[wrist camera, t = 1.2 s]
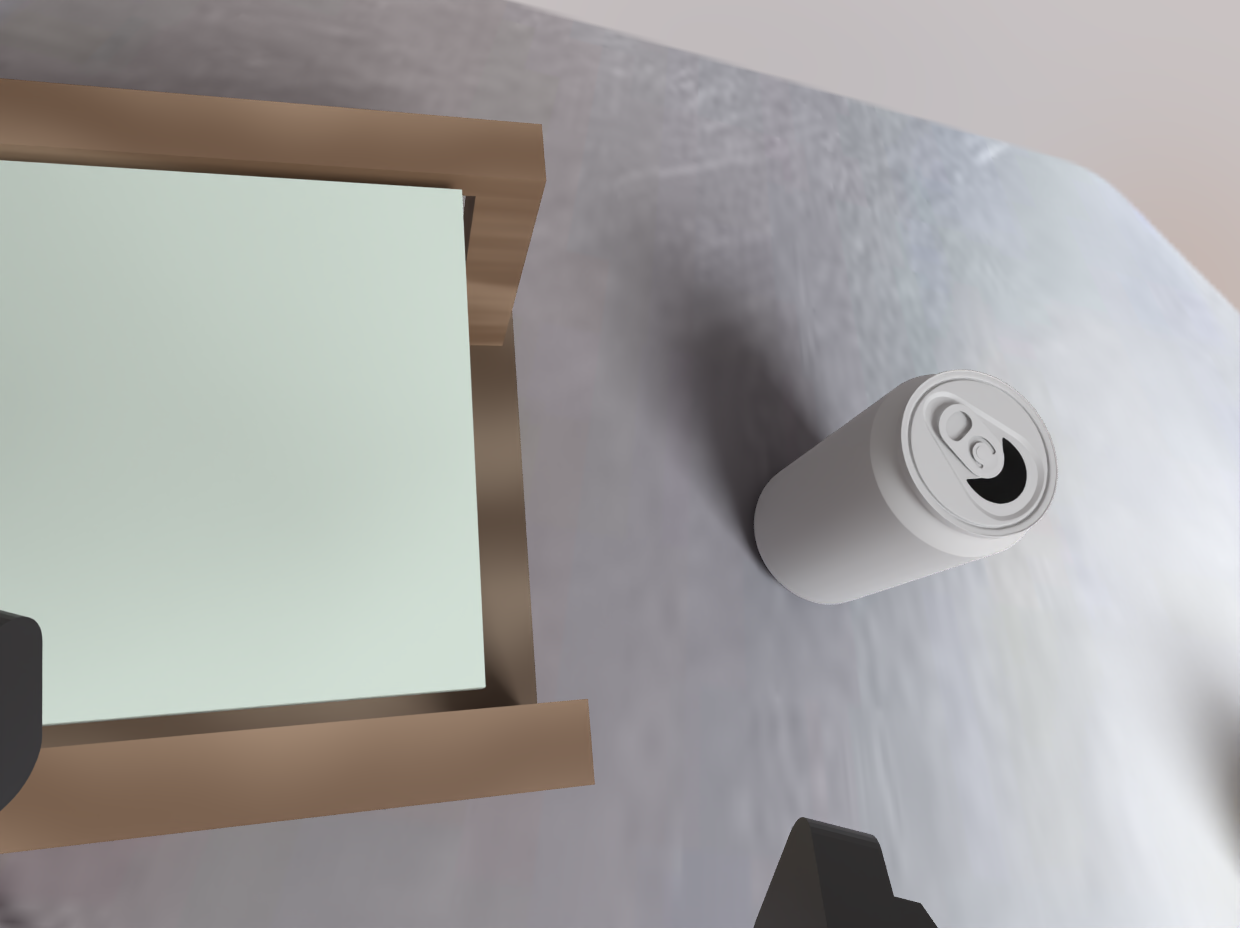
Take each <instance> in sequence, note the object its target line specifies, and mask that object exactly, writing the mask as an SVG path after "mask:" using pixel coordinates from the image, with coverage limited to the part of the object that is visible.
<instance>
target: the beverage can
mask: <svg viewBox="0 0 1240 928" xmlns="http://www.w3.org/2000/svg"><path fill="white" fill-rule="evenodd" d="M1057 480H1058V465H1057V458H1056V452H1055V448H1054V445H1053V442H1052V439H1051V436H1050V434H1049V432H1048V430H1047V428H1046V426H1045V424H1044V422H1043V420H1042V419H1041V417H1040V416H1039V414H1038V413H1037V411H1036V410H1035V409H1034V407H1033V406H1032V405H1031V404H1030V403H1029V402H1028V401H1027V400H1026V399H1025V398H1024V397H1023V396H1022V395H1021V394H1020V393H1019V392H1018V391H1016V390H1015V389H1014V388H1012V387H1011V386H1010V385H1008V384H1007V383H1005V382H1003V381H1001V380H1000V379H998V378H996V377H993V376H991V375H988V374H985V373H982V372H978V371H973V370H950V371H945V372H942V373H939V374H931V375H924V376H919V377H916V378H912V379H910V380H908V381H906V382H904V383H902V384H900V385H899V386H897V387H896V388H895V389H893V390H892V391H890V392H889V393H888V394H886V395H885V396H884V397H882V398H881V399H879V400H878V401H877V402H875V403H874V404H873V405H871V406H870V407H868V408H867V409H866V410H864V411H863V412H862V413H860V414H859V415H857V416H856V417H855V418H853V419H852V420H850V421H849V422H848V423H846V424H845V425H844V426H842V427H841V428H839V429H838V430H837V431H835V432H834V433H833V434H831V435H830V436H828V437H827V438H826V439H824V440H823V441H821V442H820V443H819V444H817V445H816V446H815V447H813V448H812V449H810V450H809V451H808V452H806V453H805V454H804V455H802V456H801V457H799V458H798V459H797V460H795V461H794V462H792V463H791V464H790V465H788V466H787V467H786V468H784V469H783V470H781V471H780V472H779V473H777V474H776V475H775V476H774V477H773V478H772V479H771V480H770V481H769V482H768V484H767V485H766V486H765V487H764V489H763V491H762V493H761V495H760V497H759V499H758V502H757V506H756V510H755V517H754V532H755V539H756V543H757V547H758V550H759V553H760V555H761V557H762V559H763V561H764V563H765V565H766V566H767V568H768V570H769V571H770V572H771V574H772V575H773V576H774V577H775V579H776V580H777V581H778V582H779V583H780V584H781V585H783V586H784V587H785V588H786V589H787V590H789V591H790V592H792V593H794V594H795V595H797V596H799V597H801V598H803V599H805V600H808V601H811V602H815V603H819V604H840V603H845V602H849V601H852V600H855V599H858V598H861V597H864V596H868V595H871V594H874V593H877V592H880V591H883V590H886V589H889V588H892V587H895V586H898V585H902V584H905V583H908V582H911V581H914V580H917V579H920V578H923V577H926V576H929V575H932V574H935V573H939V572H942V571H945V570H948V569H951V568H954V567H957V566H960V565H963V564H966V563H969V562H972V561H976V560H979V559H982V558H985V557H988V556H991V555H994V554H997V553H1000V552H1003V551H1005V550H1006V549H1008V548H1010V547H1011V546H1013V545H1014V544H1016V543H1017V542H1018V541H1019V540H1020V539H1021V538H1022V537H1023V536H1024V535H1025V534H1026V532H1027V531H1028V530H1029V528H1031V527H1032V526H1034V525H1035V524H1036V523H1037V522H1038V521H1039V520H1040V519H1041V518H1042V517H1043V516H1044V515H1045V513H1046V512H1047V510H1048V509H1049V507H1050V505H1051V503H1052V501H1053V498H1054V495H1055V492H1056V487H1057Z"/></svg>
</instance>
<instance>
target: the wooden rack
mask: <svg viewBox="0 0 1240 928" xmlns="http://www.w3.org/2000/svg"><path fill="white" fill-rule="evenodd" d="M0 160H5V161H20V162H36V163H52V164H67V165H83V166H99V167H115V168H130V169H146V170H162V171H177V172H193V173H209V174H224V175H240V176H256V177H271V178H287V179H303V180H318V181H334V182H350V183H366V184H381V185H397V186H413V187H428V188H444V189H460V190H462V195H465V196H466V199H465V207H464V215H463V221H464V242H465V263H466V284H467V305H468V326H469V348H470V369H471V390H472V411H473V432H474V453H475V474H476V495H477V516H478V537H479V558H480V579H481V601H482V622H483V643H484V664H485V685H486V687H484V688H483V689H479V690H467V691H455V692H443V693H431V694H419V695H408V696H396V697H384V698H372V699H360V700H348V701H337V702H325V703H313V704H301V705H289V706H277V707H266V708H254V709H242V710H230V711H218V712H206V713H195V714H183V715H171V716H159V717H147V718H136V719H124V720H112V721H100V722H88V723H76V724H65V725H53V726H42V744H41V749H40V752H39V756H38V759H37V761H36V764H35V766H34V768H33V770H32V772H31V774H30V776H29V778H28V779H27V781H26V783H25V784H24V786H23V787H22V788H21V790H20V791H19V792H18V794H17V795H16V796H15V797H14V798H13V799H12V800H11V802H10V803H9V804H8V805H7V806H5V807H4V808H3V809H2V810H1V811H0V854H3V853H11V852H20V851H28V850H37V849H46V848H54V847H63V846H71V845H80V844H88V843H97V842H106V841H114V840H123V839H131V838H140V837H148V836H157V835H165V834H174V833H183V832H191V831H200V830H208V829H217V828H225V827H234V826H243V825H251V824H260V823H268V822H277V821H285V820H294V819H302V818H311V817H320V816H328V815H337V814H345V813H354V812H362V811H371V810H380V809H388V808H397V807H405V806H414V805H422V804H431V803H440V802H448V801H457V800H465V799H474V798H482V797H491V796H499V795H508V794H517V793H525V792H534V791H542V790H551V789H559V788H568V787H577V786H585V785H594V784H595V781H594V769H593V757H592V744H591V732H590V719H589V707H588V699H582V700H571V701H560V702H549V703H538V704H537V693H536V678H535V662H534V646H533V631H532V615H531V599H530V584H529V568H528V552H527V537H526V521H525V506H524V490H523V474H522V459H521V443H520V427H519V412H518V396H517V380H516V365H515V349H514V333H513V318H512V308H513V304H514V300H515V297H516V293H517V289H518V285H519V281H520V278H521V274H522V270H523V266H524V263H525V259H526V255H527V251H528V247H529V244H530V240H531V236H532V232H533V229H534V225H535V221H536V217H537V213H538V210H539V206H540V202H541V198H542V195H543V191H544V187H545V183H546V172H545V160H544V147H543V135H542V124H531V123H519V122H507V121H496V120H484V119H472V118H460V117H449V116H437V115H425V114H413V113H402V112H390V111H378V110H366V109H355V108H343V107H331V106H319V105H308V104H296V103H284V102H272V101H261V100H249V99H237V98H225V97H213V96H202V95H190V94H178V93H166V92H155V91H143V90H131V89H119V88H108V87H96V86H84V85H72V84H61V83H49V82H37V81H25V80H14V79H2V78H0Z"/></svg>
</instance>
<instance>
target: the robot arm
mask: <svg viewBox="0 0 1240 928" xmlns="http://www.w3.org/2000/svg"><path fill="white" fill-rule="evenodd" d="M42 650H43V640H42V632H41V628H40V626H39V625H38V623H37V622H36V621H35V620H34V619H32V618H30V617H26V616H22V615H18V614H14V613H10V612H6V611H2V610H0V811H1V810H2V809H3V808H4V807H5V806H7V805H8V804H9V803H10V802H11V800H12V799H13V798H14V797H15V796H16V795H17V794H18V792H19V791H20V790H21V788H22V787H23V786H24V784H25V783H26V781H27V779H28V778H29V776H30V774H31V772H32V770H33V768H34V766H35V764H36V761H37V759H38V756H39V752H40V749H41V744H42ZM754 928H938V927H937V926H936V925H935V923H934V922H933V920H932V919H931V917H930V916H929V914H928V913H927V912H926V910H925V909H924V907H923V906H922V904H921V903H917V902H914V901H910V900H906V899H902V898H898V897H894V895H893V891H892V888H891V884H890V880H889V876H888V873H887V869H886V865H885V862H884V858H883V854H882V850H881V847H880V844H879V842H878V840H877V839H876V838H875V837H874V836H873V835H871V834H867V833H863V832H859V831H855V830H851V829H848V828H844V827H840V826H836V825H832V824H828V823H824V822H820V821H816V820H812V819H808V818H804V817H802V818H800V819H798V820H797V821H796V823H795V824H794V826H793V828H792V830H791V832H790V835H789V837H788V840H787V842H786V845H785V848H784V850H783V853H782V855H781V858H780V860H779V863H778V865H777V868H776V871H775V873H774V876H773V878H772V881H771V883H770V886H769V889H768V891H767V894H766V896H765V899H764V901H763V904H762V906H761V909H760V912H759V914H758V917H757V919H756V922H755V925H754Z"/></svg>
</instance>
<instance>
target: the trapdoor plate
mask: <svg viewBox="0 0 1240 928" xmlns="http://www.w3.org/2000/svg"><path fill="white" fill-rule="evenodd" d="M0 610H2V611H6V612H10V613H14V614H18V615H22V616H26V617H30V618H32V619H34V620H35V621H36V622H37V623H38V625H39V626H40V628H41V632H42V640H43V650H42V726H53V725H65V724H76V723H88V722H100V721H112V720H124V719H136V718H147V717H159V716H171V715H183V714H195V713H206V712H218V711H230V710H242V709H254V708H266V707H277V706H289V705H301V704H313V703H325V702H337V701H348V700H360V699H372V698H384V697H396V696H408V695H419V694H431V693H443V692H455V691H467V690H479V689H483V688H484V687H486V685H485V664H484V643H483V622H482V601H481V579H480V558H479V537H478V516H477V495H476V474H475V453H474V432H473V411H472V390H471V369H470V348H469V326H468V305H467V284H466V263H465V242H464V221H463V200H462V190H460V189H444V188H428V187H413V186H397V185H381V184H366V183H350V182H334V181H318V180H303V179H287V178H271V177H256V176H240V175H224V174H209V173H193V172H177V171H162V170H146V169H130V168H115V167H99V166H83V165H67V164H52V163H36V162H20V161H5V160H0Z"/></svg>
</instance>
